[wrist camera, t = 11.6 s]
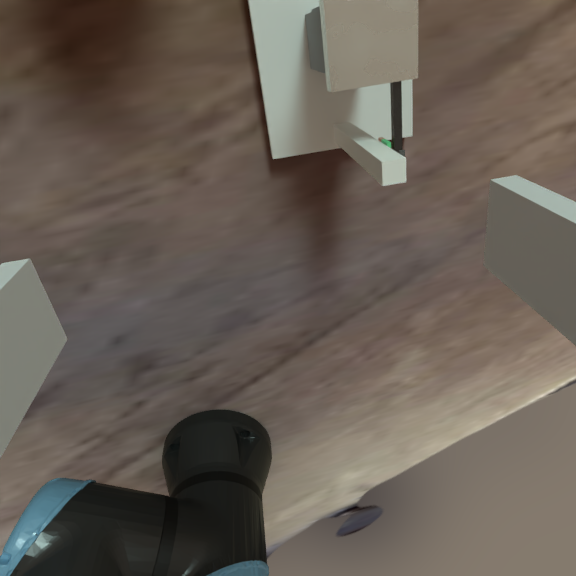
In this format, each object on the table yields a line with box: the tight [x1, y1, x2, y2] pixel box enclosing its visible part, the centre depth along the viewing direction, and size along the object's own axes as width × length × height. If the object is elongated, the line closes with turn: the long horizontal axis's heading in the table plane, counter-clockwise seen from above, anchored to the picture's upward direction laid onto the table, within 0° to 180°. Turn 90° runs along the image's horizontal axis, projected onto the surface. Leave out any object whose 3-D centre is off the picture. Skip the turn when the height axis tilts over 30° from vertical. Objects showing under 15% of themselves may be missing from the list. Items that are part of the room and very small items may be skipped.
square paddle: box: [319, 0, 418, 153], centre depth 34 cm, size 6×12×10 cm, turn 8°
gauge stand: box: [248, 0, 412, 186], centre depth 34 cm, size 14×18×18 cm
